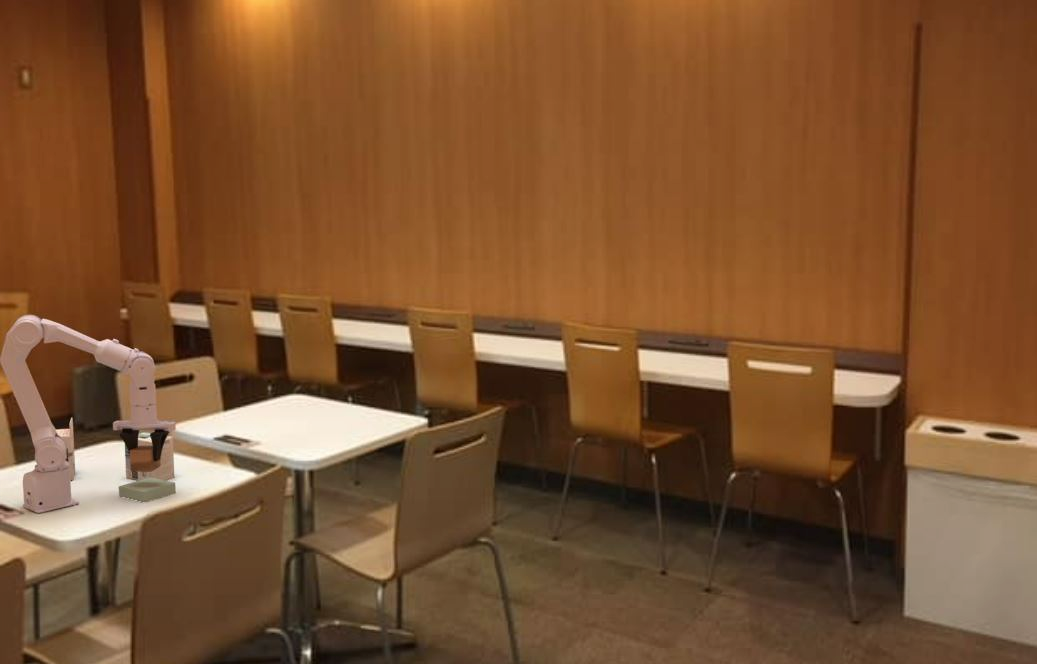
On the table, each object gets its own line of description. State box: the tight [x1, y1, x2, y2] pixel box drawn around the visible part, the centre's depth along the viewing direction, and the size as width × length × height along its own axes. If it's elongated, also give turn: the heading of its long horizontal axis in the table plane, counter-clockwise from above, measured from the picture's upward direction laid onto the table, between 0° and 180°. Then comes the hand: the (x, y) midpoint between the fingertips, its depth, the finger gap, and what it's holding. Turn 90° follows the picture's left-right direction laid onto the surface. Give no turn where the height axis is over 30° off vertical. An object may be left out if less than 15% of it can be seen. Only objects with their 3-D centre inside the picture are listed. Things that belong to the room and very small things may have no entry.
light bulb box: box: [124, 431, 176, 481], centre depth 241 cm, size 11×7×11 cm, turn 62°
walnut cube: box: [130, 445, 161, 472], centre depth 226 cm, size 5×5×5 cm
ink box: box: [56, 417, 76, 481], centre depth 241 cm, size 9×5×15 cm, turn 22°
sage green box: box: [118, 477, 177, 503], centre depth 227 cm, size 9×9×3 cm
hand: (146, 459), depth 226 cm, fingers closed on walnut cube, 5 cm apart
